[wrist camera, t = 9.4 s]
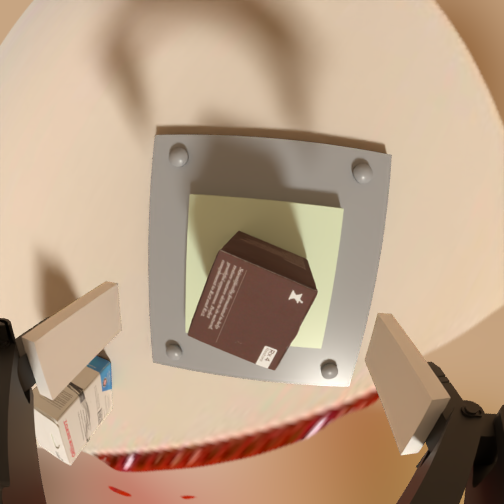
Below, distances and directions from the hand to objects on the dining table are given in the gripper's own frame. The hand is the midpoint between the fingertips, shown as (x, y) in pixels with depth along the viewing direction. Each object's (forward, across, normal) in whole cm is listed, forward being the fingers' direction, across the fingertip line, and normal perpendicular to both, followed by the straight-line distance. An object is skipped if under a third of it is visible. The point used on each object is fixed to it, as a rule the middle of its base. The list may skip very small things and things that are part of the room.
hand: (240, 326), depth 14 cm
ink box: (+12, -19, -18) cm, 29 cm away
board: (+12, 0, -1) cm, 12 cm away
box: (+10, 0, -1) cm, 10 cm away
